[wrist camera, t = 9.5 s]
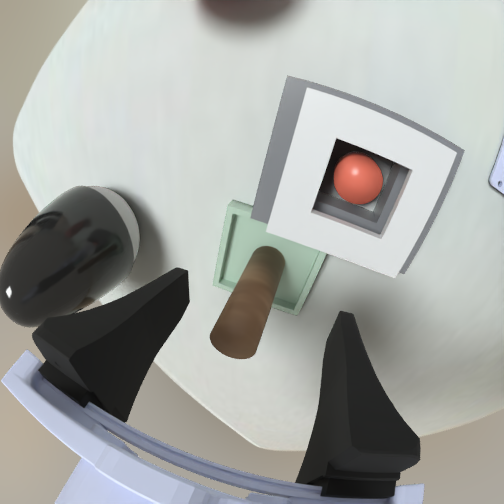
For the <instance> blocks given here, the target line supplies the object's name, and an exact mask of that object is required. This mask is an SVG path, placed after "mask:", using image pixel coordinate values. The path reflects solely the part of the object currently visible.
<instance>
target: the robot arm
mask: <svg viewBox="0 0 504 504" xmlns="http://www.w3.org/2000/svg"><path fill="white" fill-rule="evenodd" d="M499 181H500V184H499V185H498V182H499ZM489 182H490V184H491V185H492V186H493V187H494V188H496V189H497V190H499V191H500V192H501V193H503V194H504V139H503V142H502V145H501V148H500V151H499V154H498V157H497V159H496V162H495V165H494V168H493V170H492V173H491V175H490V178H489ZM189 302H190V300H189V282H188V270H184V269H181V268H175V269H173V270H171V271H169V272H168V273H166V274H164V275H162V276H161V277H159V278H157V279H156V280H154V281H152V282H150V283H148V284H147V285H145V286H143V287H141V288H139V289H137V290H136V291H134V292H132V293H130V294H128V295H126V296H124V297H122V298H119V299H117V300H115V301H112V302H110V303H107V304H105V305H102V306H99V307H96V308H93V309H90V310H86V311H83V312H79V313H74V314H69V315H64V316H57V317H49V318H47V319H46V320H45V321H44V322H43V323H42V324H41V325H40V326H39V327H38V328H37V329H36V330H35V331H34V332H33V333H32V338H33V340H34V342H35V344H36V346H37V347H38V349H39V350H40V352H41V353H42V355H43V356H44V358H45V359H46V361H45V363H44V364H43V363H42V362H41V361H40V360H39V359H38V358H37V357H36V356H35V355H33V354H32V353H31V352H30V351H29V350H26V351H25V352H24V353H23V354H22V355H21V357H20V358H19V359H18V360H17V361H16V362H15V364H14V365H13V366H12V367H11V369H10V370H9V371H8V372H7V373H6V375H5V376H4V377H3V379H2V383H3V384H4V385H5V386H6V387H7V388H8V389H9V391H10V392H11V393H12V394H13V395H14V396H15V397H16V398H17V399H18V400H19V402H20V403H21V404H22V405H23V406H24V407H25V408H26V409H27V410H28V411H29V412H30V413H31V414H32V415H33V416H34V417H35V418H36V419H37V420H38V421H39V422H40V423H41V424H42V425H44V426H45V427H46V428H47V429H48V430H49V431H50V432H51V433H52V434H53V435H55V436H56V437H57V438H58V439H60V441H62V442H63V443H64V444H65V445H67V446H68V447H69V448H71V449H72V450H73V451H74V452H75V453H77V454H78V455H79V456H81V457H82V458H81V459H80V461H79V463H78V465H77V466H76V468H75V469H74V471H73V473H72V474H71V476H70V478H69V479H68V481H67V483H66V484H65V486H64V488H63V489H62V491H61V493H60V495H59V496H58V498H57V500H56V501H55V503H54V504H423V495H424V484H412V485H400V486H396V481H397V480H399V479H400V472H401V471H404V470H406V469H407V468H410V467H412V466H414V465H415V464H417V463H418V461H419V460H420V438H419V437H418V436H417V435H416V434H415V433H414V432H413V430H412V429H411V428H410V427H409V426H408V425H407V423H406V422H405V421H404V420H403V418H402V417H401V416H400V414H399V413H398V412H397V410H396V409H395V407H394V405H393V404H392V402H391V401H390V399H389V398H388V396H387V395H386V393H385V391H384V389H383V387H382V386H381V384H380V382H379V380H378V378H377V376H376V374H375V371H374V369H373V367H372V365H371V362H370V360H369V358H368V355H367V352H366V350H365V347H364V345H363V342H362V339H361V336H360V333H359V330H358V327H357V324H356V321H355V317H354V315H353V314H352V313H347V312H343V311H340V312H339V314H338V317H337V319H336V321H335V324H334V326H333V328H332V330H331V332H330V335H329V337H328V339H327V342H326V348H325V353H324V358H323V367H322V378H321V388H320V398H319V405H318V410H317V415H316V419H315V423H314V427H313V431H312V434H311V438H310V441H309V445H308V448H307V451H306V454H305V457H304V460H303V463H302V466H301V469H300V471H299V474H298V477H297V479H296V482H295V483H292V482H287V481H282V480H276V479H272V478H267V477H263V476H259V475H255V474H251V473H247V472H243V471H240V470H236V469H233V468H229V467H226V466H223V465H220V464H217V463H214V462H211V461H208V460H205V459H203V458H200V457H197V456H194V455H192V454H189V453H187V452H184V451H182V450H180V449H177V448H175V447H173V446H170V445H168V444H166V443H163V442H161V441H159V440H157V439H155V438H153V437H151V436H149V435H147V434H145V433H143V432H141V431H139V430H137V429H135V428H133V427H131V426H129V425H127V424H126V423H125V422H127V420H128V416H129V414H130V411H131V408H132V406H133V403H134V401H135V398H136V396H137V393H138V391H139V389H140V386H141V384H142V382H143V380H144V378H145V376H146V374H147V371H148V370H149V368H150V366H151V364H152V362H153V360H154V358H155V357H156V355H157V353H158V352H159V350H160V349H161V347H162V346H163V344H164V343H165V342H166V340H167V339H168V337H169V336H170V334H171V333H172V331H173V330H174V329H175V327H176V326H177V324H178V323H179V321H180V320H181V318H182V316H183V314H184V312H185V310H186V308H187V306H188V304H189ZM107 430H108V431H110V432H111V433H113V434H115V435H116V436H118V437H120V438H121V439H123V440H125V441H127V442H128V443H130V444H132V445H134V446H136V447H138V448H140V449H142V450H144V451H146V452H148V453H150V454H152V455H154V456H156V457H158V458H160V459H162V460H164V461H167V462H169V463H172V464H173V465H176V466H178V467H181V468H183V469H186V470H188V471H191V472H193V473H196V474H199V475H202V476H204V477H207V478H210V479H213V480H216V481H219V482H223V483H226V484H229V485H232V486H236V487H239V488H243V489H247V490H251V491H255V492H259V493H263V494H257V493H250V494H249V496H248V497H246V499H242V498H239V497H236V496H232V495H230V494H226V493H223V492H220V491H218V490H215V489H212V488H209V487H206V486H204V485H201V484H198V483H196V482H193V481H191V480H188V479H186V478H183V477H181V476H178V475H176V474H174V473H171V472H169V471H167V470H165V469H163V468H160V467H158V466H156V465H154V464H152V463H150V462H148V461H146V460H144V459H142V458H140V457H138V455H137V454H136V453H135V452H133V451H132V450H131V449H130V448H128V447H127V446H126V444H125V443H124V442H122V441H121V440H120V439H118V438H117V437H115V436H114V435H112V434H111V433H109V432H108V431H107ZM395 486H396V487H395ZM264 494H268V495H264ZM272 495H273V496H272Z"/></svg>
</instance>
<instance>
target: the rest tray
mask: <svg viewBox="0 0 504 504" xmlns="http://www.w3.org/2000/svg"><path fill="white" fill-rule="evenodd" d="M252 209H253V206H251V205H248V204H245V203H242V202H239V201H236V200H232V201H231V202H230V203H229V204H228V206H227V211H226V216H225V221H224V226H223V232H222V237H221V242H220V247H219V253H218V258H217V263H216V269H215V274H214V280H213V286H216V287H219V288H221V289H224V290H227V291H229V292H233V290H234V288H235V286H236V284H237V282H238V280H239V278H240V277H241V275H242V273H243V271H244V269H245V267H246V265H247V263H248V261H249V260H250V258H251V256H252V254H253V252H254V251H255V250H256V249H257V248H259V247H261V246H271V247H274V248H276V249H278V250H279V251H280V252H281V253H282V254H283V256H284V259H285V266H284V270H283V273H282V276H281V279H280V282H279V285H278V288H277V291H276V294H275V297H274V300H273V303H272V306H271V307H273V308H276V309H279V310H281V311H284V312H287V313H290V314H293V315H296V316H297V315H298V313H299V311H300V309H301V307H302V305H303V303H304V301H305V299H306V297H307V295H308V293H309V291H310V289H311V287H312V284H313V282H314V280H315V278H316V276H317V274H318V272H319V269H320V267H321V265H322V263H323V261H324V258H325V256H326V254H327V253H324V252H322V251H319V250H316V249H313V248H311V247H308V246H305V245H302V244H299V243H297V242H294V241H291V240H288V239H285V238H282V237H279V236H277V235H274V234H271V233H268V232H266V229H267V226H268V224H266V223H263V222H260V221H257V220H254V219H251V218H250V217H251V213H252Z"/></svg>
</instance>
